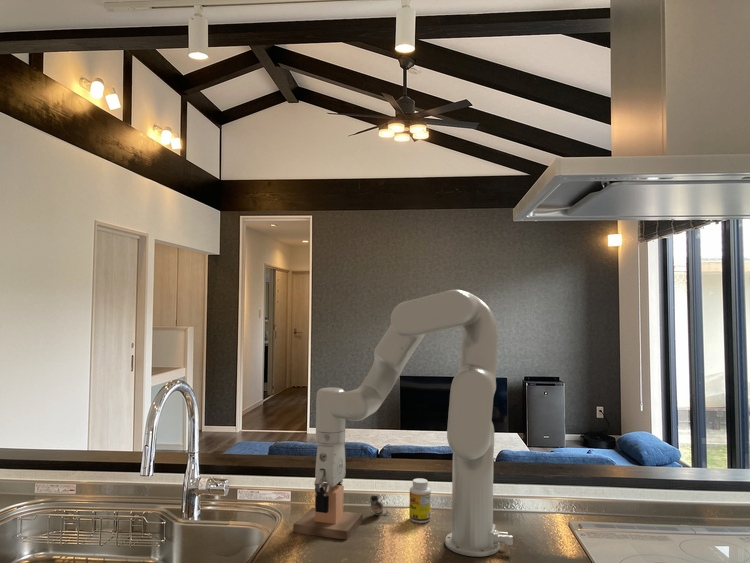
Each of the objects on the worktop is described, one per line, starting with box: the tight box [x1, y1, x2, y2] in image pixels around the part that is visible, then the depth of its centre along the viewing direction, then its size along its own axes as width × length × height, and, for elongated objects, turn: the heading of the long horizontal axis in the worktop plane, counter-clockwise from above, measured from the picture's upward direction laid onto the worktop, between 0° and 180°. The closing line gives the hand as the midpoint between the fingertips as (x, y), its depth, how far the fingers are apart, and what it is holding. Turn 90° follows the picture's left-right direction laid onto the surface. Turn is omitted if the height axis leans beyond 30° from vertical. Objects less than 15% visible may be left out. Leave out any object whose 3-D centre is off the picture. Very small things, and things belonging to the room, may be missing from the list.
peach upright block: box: [314, 485, 345, 524], centre depth 140 cm, size 6×6×8 cm
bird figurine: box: [369, 495, 391, 518], centre depth 147 cm, size 5×5×6 cm
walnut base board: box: [292, 507, 363, 540], centre depth 140 cm, size 14×12×2 cm
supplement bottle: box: [408, 478, 432, 524], centre depth 145 cm, size 6×6×10 cm
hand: (329, 505), depth 140 cm, fingers open, 9 cm apart
